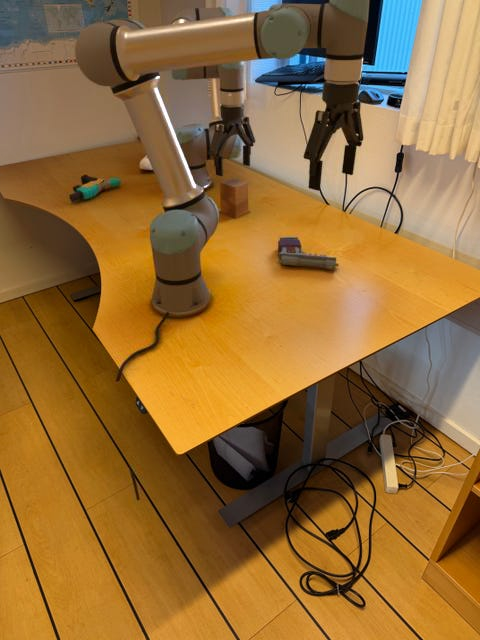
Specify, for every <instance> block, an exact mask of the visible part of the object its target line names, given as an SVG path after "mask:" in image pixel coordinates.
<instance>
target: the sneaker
mask: <svg viewBox="0 0 480 640" xmlns="http://www.w3.org/2000/svg"><path fill="white" fill-rule="evenodd" d="M139 169H141V170H144V171H153V168H152V166H151V164H150V161H149V159H148V157H147V155H146V154H145V156H144V157H143V158H142V159H141V160H140V162H139Z"/></svg>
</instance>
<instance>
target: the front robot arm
mask: <svg viewBox="0 0 480 640" xmlns="http://www.w3.org/2000/svg"><path fill="white" fill-rule="evenodd" d="M369 12H370V0H328V2H325V3H321V4H320V3H319V4H317V3H315V4H314V3H290V2H284V3H279V4H278V3H277V4H272V5H271V6H269V8H268V10H262V11H257V12H247V13H242V14H233V15H234V16H227V17H220V18H213V19H206V20H199V21H193V22H186V23H179V24H172V25H170V24H166V25H159V26H152V27H146V26H145V25H144V24H143V23H141V22H139V21H138V20H136V19H131V18H125V17H117V18H115V19H110V20H106V21H100V22H93V23H91V24H89V25H87V26H85V28H83V29H82V30H81V31H80V32H79V34H78V35H77V39H76V41H75V46H74V54H75V55H74V56H75V60H76V63H77V66H78V67H79V69H80V72H81V73H82V74H83V75H84V76H85V78H87V79H88V80H89V81H91V82H92V83H93V84H95V85H98V86H101V87H109V88H110V90H111V92H112V95H113V96H114V97H116V98H118V99H119V100H121V101H122V102H123V104H124V106H125V109H126V110H127V113H128V116H129V117H130V120H131V122H132V124H133V126H134V129H135V132H136V133H137V137H138V136H139V138H140V140H139V141H140V143H141V145H142V148H143V150H144V152H145V156H146V155H147V157H148V159H149V161H150V164H151V166H152V168H153V170H152V171H153V173H154V175H155V177H156V180H157V183H158V186H159V187H160V189H161V192H162V194H163V199H162V202H161V206H162V209H163V211H164V212H163V213H162V212H161V213H159V214H158V215H156V216H155V217H154V218H153V219H152V221H151V222H150V225H149V241H150V247H151V253H152V260H153V261H152V262H153V268H154V274H155V275H154V276H155V281H154V284H153V290H152V294H151V305H152V308H153V310H154V311H155V312H156V313H157V314H159V315H160V316H163V317H162V319H160V322H159V323H158V324H157V326H156V327H155V331H154V333H155V340H154V342H153V343H151V344H150V345H149V346H147V347H143V348H141V349H138V350H136V351H135V352H133V353H132V354H130V355H129V356H128V357H127V358H126V359H125V360H124V361H123V362H122V364H121V365H120V366H119V369H118V371H117V375H116V378H115V382H116V383H117V382H120V380H121V377H122V374H123V371H124V369H125V367H126V365H127V364H128V363H130V361H131V360H132V359H134V358H135V357H136V356H137V355H140V354H142V353H144V352H147V351H149V350H152V349H153V348H155V347H156V346H157V345H158V343H159V341H160V335H159V331H160V329H161V328H162V325H163V324H164V323H165V321H166V320H167V318H171V319H183V318H185V319H186V318H190V317H194V316H196V315H199V314H201V313H202V312H204V311H205V310H207V308H208V307H209V306H210V303H211V292H210V290H209V288H208V286H207V284H206V281H205V278H204V277H203V275H202V262H201V261H202V259H201V253H202V251H203V249H204V247H205V246H206V245H207V243H208V242H209V240H210V238H211V237H212V236H214V234H215V232H216V230H217V227H218V224H219V220H220V212H219V209H218V206H217V203H215V201H214V200H213V198H212V197H209V196H208V195H207V194H206V191H204V189H203V188H202V187H201V186H198V185H196V184H195V182H194V179H193V177H192V174H191V172H190V169H189V167H188V164H187V162H186V159H185V157H184V154H183V151H182V149H181V146H180V144H179V141H178V139H177V136H176V134H175V131H176V130H175V128H174V125H173V124H172V121H171V119H170V117H169V114H168V110H167V108H166V105H165V103H164V100H163V98H162V96H161V93H160V91H159V86H158V85H159V83H160V80H161V75H160V73H162V72H171V70H178V69H186V68H194V67H202V66H210V65H218V64H227V63H235V62H243V61H244V62H251V61H259V60H270V59H277V60H287V59H292V58H293V57H295V56H297V55H298V54H300V52H301V51H302V50H303V49H325V63H324V72H323V73H324V75H323V78H324V80H325V81H324V82H323V84H322V95H321V99H322V101H323V102H324V103H325V104H326V105H325V109H324V110H319V109H317V110H316V111H315V116H314V122H313V124H312V128H311V131H310V135H309V138H308V140H307V144H306V147H305V150H304V152H303V159H305V160H308V161H309V165H308V166H309V168H308V189H310V190H314V191H317V192H319V191H321V185H322V173H323V162H324V161H323V160H322V157H323V155H324V153H325V151H326V149H327V147H328V145H329V143H330V141H331V139H332V138H333V135H334V134H336V132H337V130H340V129H341V131H342V133H343V135H344V138H345V142H346V143H347V144H345V145H344V151H343V160H342V167H341V174H345V175H349V176H353V175H354V171H355V163H356V155H357V148H358V147H359V148H361V147H362V144H363V141H364V130H363V124H362V123H363V122H362V115H361V104H362V103H361V101H358V100H359V93H360V86H361V85H360V82H359V81H360V80H361V78H362V70H363V63H364V62H363V61H364V53H365V44H366V39H367V38H366V37H367V30H368V23H369ZM129 474H130V476H131V480H132V481H131V482H132V485H133V489H134V492H135V493H134V494H135V498H136V501H140V499H141V498H140V493H139V489H138V485H137V481H136V476H135V473H134V469H129Z"/></svg>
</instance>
